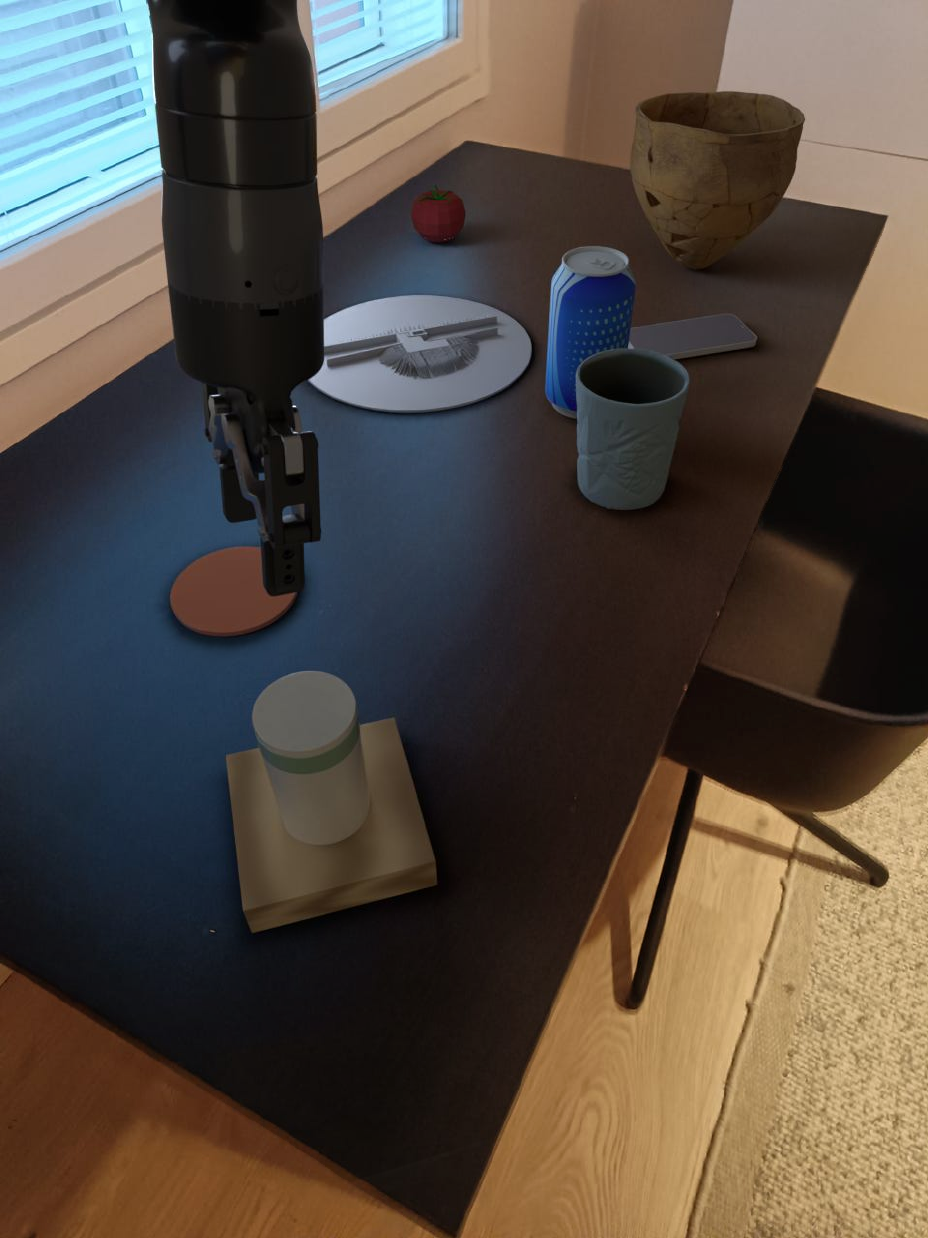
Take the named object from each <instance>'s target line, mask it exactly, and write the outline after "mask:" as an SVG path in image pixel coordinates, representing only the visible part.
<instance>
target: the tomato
mask: <svg viewBox="0 0 928 1238" xmlns="http://www.w3.org/2000/svg"><path fill="white" fill-rule="evenodd" d="M434 188H435V189H427V191H425V192H422V193H421V194H420V195H418V196H417V197H416V198H415V199H414V200H413V203H412V207H411V212H410V213H411V214H410V219H411V222H412V225H413V226H412V227H413V229H414V230H415V231H416V232H417V233H418V234H419V236H421V238H423V237H425V238H423V239H424V240H426V241H428V242H433V243H442V242H449V241H452V240H454V239H455V238H456V237H457V236H458V235H459V233H460V232H461V231H462V230H463V229H464V227H465V221H466V216H467V215H466V209H465V205H464V202H463V199H462V198H460V197H459V196H458V195H457V194H456V193H455V192H454V191H452V190H448V189H447V190H444V189H438V185H437V184H434ZM452 237H453V238H452ZM426 238H427V239H426ZM449 238H450V239H449ZM444 239H446V240H444Z"/></svg>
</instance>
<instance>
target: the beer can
mask: <svg viewBox="0 0 928 1238" xmlns="http://www.w3.org/2000/svg"><path fill="white" fill-rule="evenodd" d="M636 287H637V282H636V279H635V277H634V274H633V273H632V270H631V269H630V258H629V257H628V256H627V254H625V253H624V252H622V251H620V250H618V249H615V248H613V247H606V246H600V245H587V246H580V247H576V248H573V249H570V250H568V251H567V252H565V253H564V254H563V256H562V258H561V264H560V266H559V267H558V268H557V269H556V271H555V272H554V274H553V275H552V278H551V283H550V297H549V298H550V300H549V301H550V302H549V318H548V332H547V333H548V337H547V353H546V368H545V369H546V370H545V388H544V391H545V392H544V393H545V396H546V398H547V400H548V401H549V402H550V403H551V407H552V408H553V409H554V410H555V411H556V412H557V413H558V414H561V415H562V416H565V417H568V418H571V419H575V420H577V400H576V371H577V369H578V367H579V366H580V364H581V363H582V362H583V361H584V360H585V359H587V358H588V357H590V356H592V355H594V354H597V353H600V352H603V351H607V350H613V349H623V348H628V344H629V336H630V328H632V319H633V312H634V304H635V295H636ZM628 349H629V348H628Z"/></svg>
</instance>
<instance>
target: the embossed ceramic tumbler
mask: <svg viewBox="0 0 928 1238" xmlns="http://www.w3.org/2000/svg"><path fill="white" fill-rule="evenodd" d="M690 384H691V378H690V375H689V371H687V369H686V368H685V366H684V365H683V364H681V363H680V362H679V361H677V360H676V359H674V360H673V359H671V358H669V357H667V356H666V355H663V354H661V353H658V352H654V351H649V350H643V349H629V348H623V349H613V350H607V351H603V352H600V353H597V354H594V355H592V356H590V357H588V358H587V359H585V360H584V361H583V362H582V363H581V364H580V366H579V367H578V369H577V371H576V400H577V419H576V422H577V424H576V446H577V453H578V458H577V461H576V465H577V466H576V468H577V469H576V472H577V485H578V489H579V491H580V492H581V493H582V495H583V496H584V497H585V498H586V499H587V500H589V501H590V502H591V503H593V504H595V505H598V506H600V507H603V508H606V509H608V510H609V509H610V510H616V511H618V510H620V511H631V510H637V509H638V510H639V509H642V508H647V507H649V506H651V505H653V504H654V503H656V502H657V501H658V500H659V499H660V498H661V497H662V495H663V494H664V492H665V489H666V485H667V481H668V477H669V472H670V467H671V463H672V460H673V459H672V458H673V455H674V452H675V448H676V442H677V439H678V435H679V430H680V424H679V421H680V420H681V418H682V416H683V411H684V410H683V409H684V407H685V404H686V399H687V396H688V392H689V388H690Z"/></svg>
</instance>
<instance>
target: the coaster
mask: <svg viewBox="0 0 928 1238" xmlns="http://www.w3.org/2000/svg"><path fill="white" fill-rule="evenodd" d="M297 597H298V592H295V593H290V594H285V595H280V596H270V595H268V593H267V592H266V590H265V588H264V586H263V575H262V558H261V546H259V547H258V546H235V547H228V548H224V549H223V548H222V549H219V550H216V551H213V552H211V553H208V554H205V555H204V556H202V557H199V558H198V559H197V560H194V561H193V562H192V563H190V564H189V565H187V566H186V568H184V569H183V570H182V571H181V572H180V574H179V575H177V577H176V579H175V580H174V582H173V583H172V587H171V589H170V595H169V601H170V607H171V610H172V612H173V614H174V616H175V617H176V620H178V622H179V623H181V624H182V625H183V626H184V627H186V628H187V629H189V630H191V631H193V632H195V633H197V634H201V635H205V636H211V637H236V636H242V635H247V634H249V633H253V632H257V631H259V630H261V629H263V628H265V627H268V626H269V625H271V624H273V623H275V622H276V621H277V620H279V619H280V618H281V617H282V616H284V615H285V614H286V613H287V612H288V611H289V610H290V609H291V607H292V605H293V604H294V602H295V600H296V598H297Z"/></svg>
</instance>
